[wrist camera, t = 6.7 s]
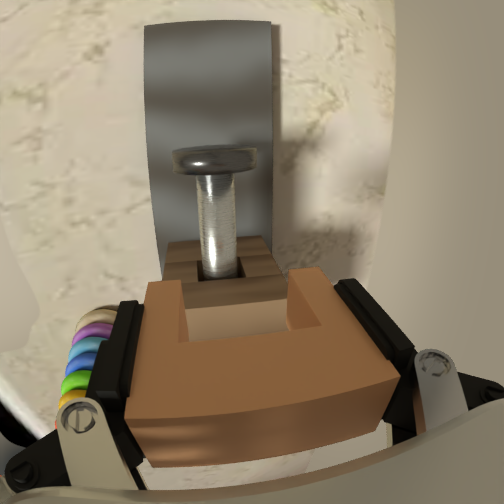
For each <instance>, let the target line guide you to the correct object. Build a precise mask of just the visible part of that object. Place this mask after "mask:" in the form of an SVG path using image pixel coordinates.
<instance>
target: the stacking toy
mask: <svg viewBox="0 0 504 504" xmlns="http://www.w3.org/2000/svg"><path fill="white" fill-rule="evenodd" d="M116 314H117V312H116V311H113V310H108V309H99V310H94V311H91V312H89V313H87V314H85V315H84V316H83V317H82V318H81V319H80V321H79V322H78V324H77V326H76V330H75V336H74V338H73V341H72V348H71V350H70V352H69V358H68V361H69V363H68V365H67V367H66V372H65V377H66V378H65V379H64V381H63V383H62V386H61V393H62V397H61V398H60V401H59V409H60V408H61V407H62V405H64V404H65V403H66V402H68V401H70V400H72V399H74V398H80V397H84V398H85V394H86V390H87V387H88V383H89V379H90V376H91V372H92V369H93V365H94V362H95V358H96V355H97V352H98V348H99V345H100V343H101V341H102V340H109V337H110V334H111V331H112V327H113V324H114V321H115V317H116ZM55 429H57V425H56V421H55Z"/></svg>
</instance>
